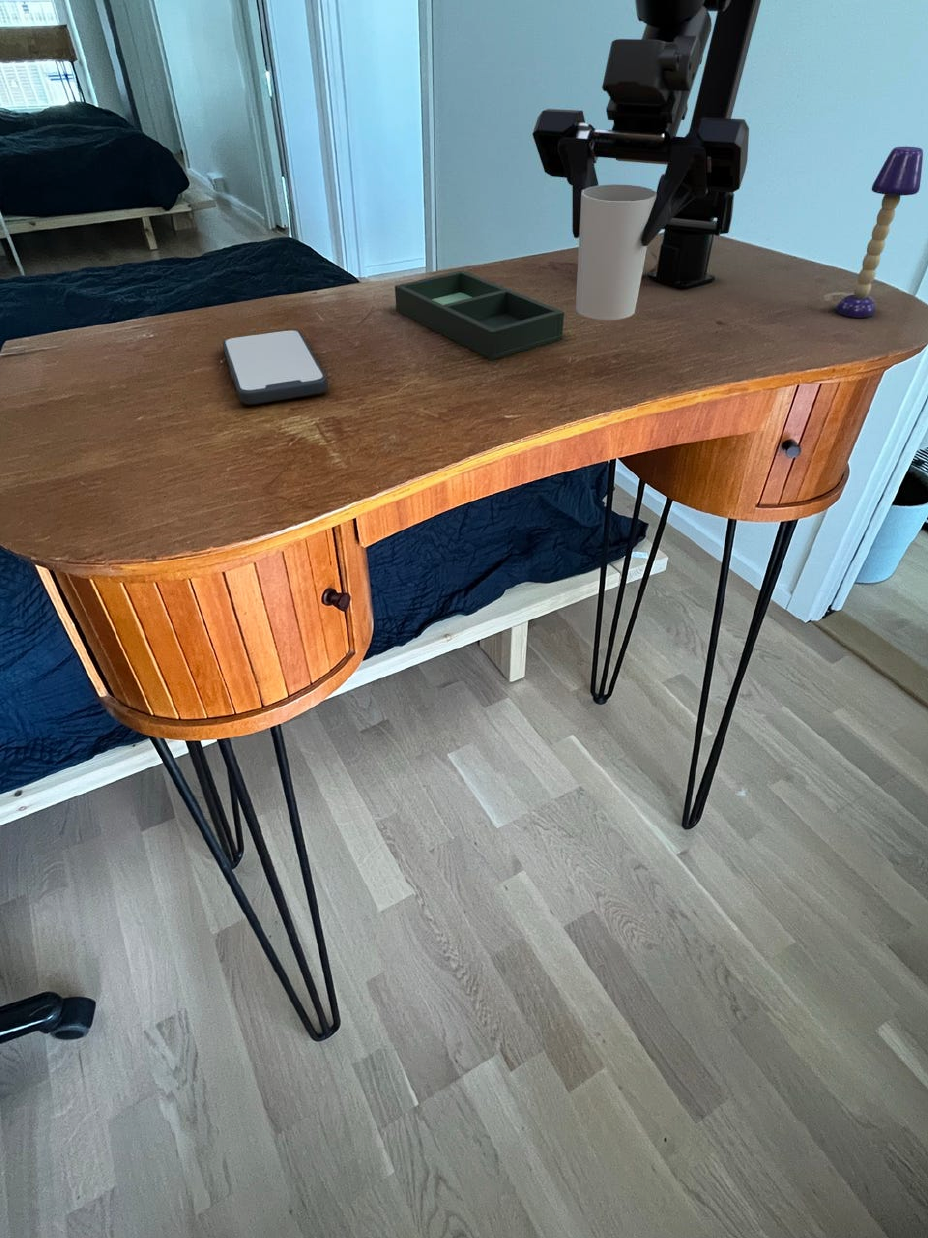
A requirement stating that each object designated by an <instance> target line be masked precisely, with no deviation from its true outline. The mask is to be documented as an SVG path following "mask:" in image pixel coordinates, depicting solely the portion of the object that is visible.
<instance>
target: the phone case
mask: <svg viewBox="0 0 928 1238" xmlns="http://www.w3.org/2000/svg"><path fill="white" fill-rule="evenodd" d="M222 349H223V353H224V356H225V359H226V362H227V365H228V368H229V374H230V378H231V381H232V383H233V384H234V387H235V390H236V393H237V397H238V399H239V401H240V402H241V403H242V404H245V405H249V406H251V405H259V404H265V403H266V404H267V403H271V402H278V401H283V400H290V399H297V398H302V397H309V396H315V395H321V394H324V393H325V392H327V391H328V389H329V383H328V376H327V375H326V373H325V371H324V370H323V368H322V366H321V365H320V362H319V360H318V359H317V358H316V356H315V355H314V352H313V351H312V350H311V348H310V345H309V344H308V343H307V341H306V339H305V337H304V335H303V333H301V331H299V330H297V329H286V330H279V331H272V332H264V333H258V334H251V335H242V336H235V337H229V338H227V339H224V340H223V341H222Z"/></svg>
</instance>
